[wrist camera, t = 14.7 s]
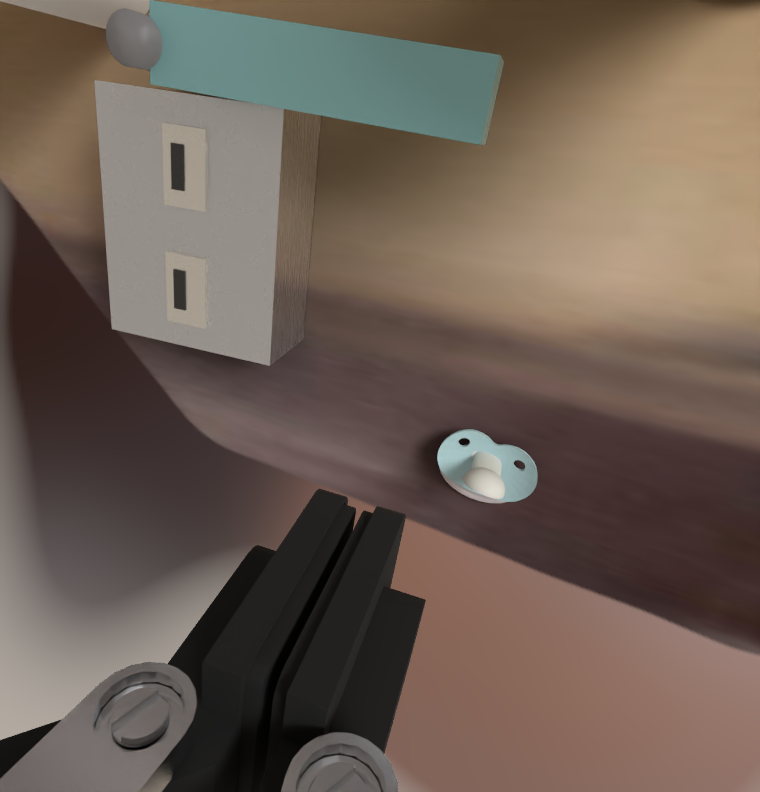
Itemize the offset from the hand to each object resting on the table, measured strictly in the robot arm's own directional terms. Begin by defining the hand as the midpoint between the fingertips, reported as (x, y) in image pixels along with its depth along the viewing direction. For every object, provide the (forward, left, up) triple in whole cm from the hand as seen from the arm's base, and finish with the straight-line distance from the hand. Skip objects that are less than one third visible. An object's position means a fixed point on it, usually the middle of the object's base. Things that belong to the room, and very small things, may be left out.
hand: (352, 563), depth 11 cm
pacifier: (+15, +3, -31) cm, 35 cm away
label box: (0, -19, -31) cm, 36 cm away
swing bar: (-9, -10, -30) cm, 33 cm away
